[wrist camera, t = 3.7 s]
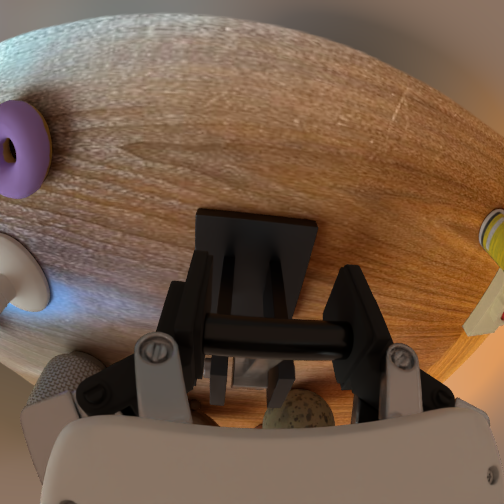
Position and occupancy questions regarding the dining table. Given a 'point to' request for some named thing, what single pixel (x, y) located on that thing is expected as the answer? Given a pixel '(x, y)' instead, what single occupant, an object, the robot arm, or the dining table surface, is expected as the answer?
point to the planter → (64, 374)
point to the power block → (488, 309)
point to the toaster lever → (272, 343)
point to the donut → (23, 149)
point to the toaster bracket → (254, 280)
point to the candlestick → (21, 277)
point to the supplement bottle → (493, 236)
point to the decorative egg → (299, 412)
